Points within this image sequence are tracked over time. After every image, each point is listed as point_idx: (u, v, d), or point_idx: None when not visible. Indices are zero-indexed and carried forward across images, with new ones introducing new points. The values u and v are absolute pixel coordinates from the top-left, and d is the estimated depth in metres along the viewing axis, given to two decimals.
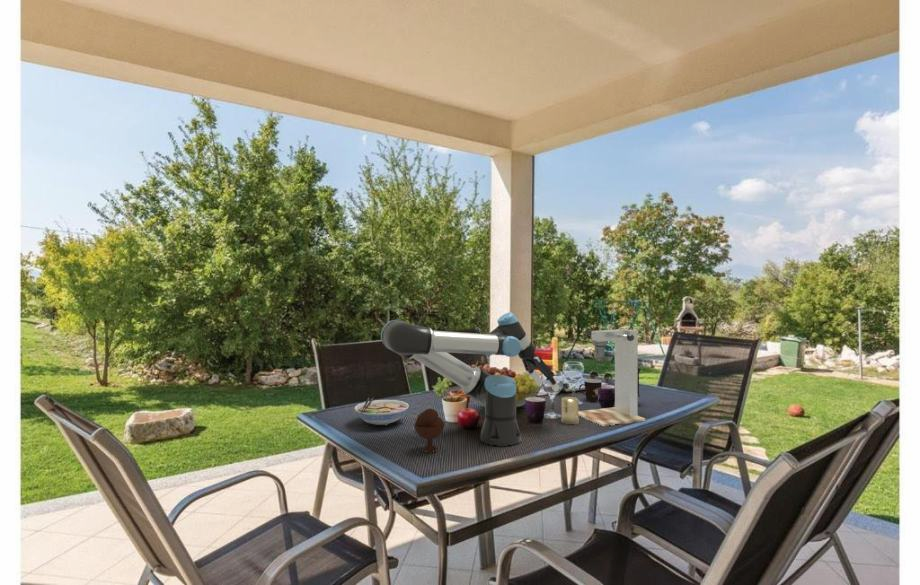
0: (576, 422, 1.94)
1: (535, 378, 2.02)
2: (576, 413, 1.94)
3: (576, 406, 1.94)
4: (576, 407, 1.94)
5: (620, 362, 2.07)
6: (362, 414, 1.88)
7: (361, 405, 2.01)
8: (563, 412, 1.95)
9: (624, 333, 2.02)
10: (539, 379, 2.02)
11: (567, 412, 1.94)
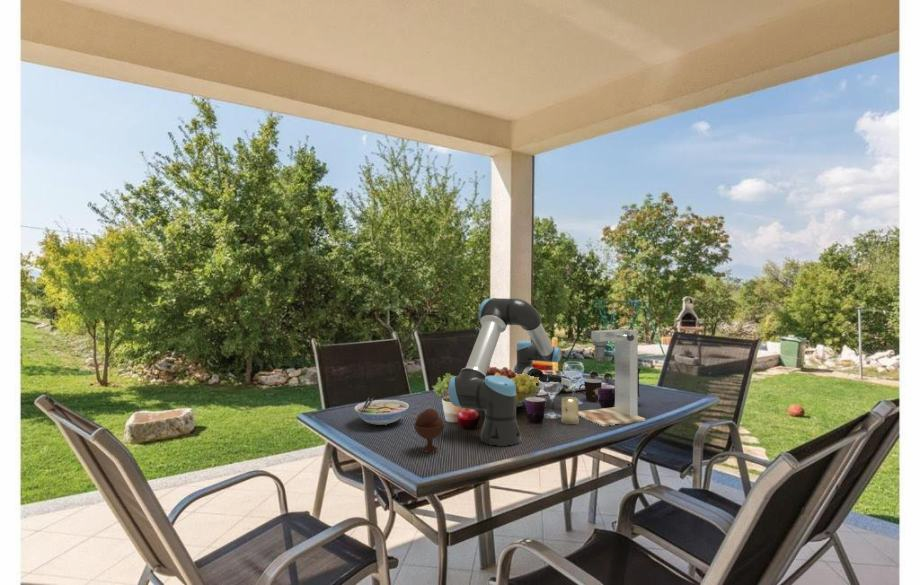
0: (576, 422, 1.94)
1: None
2: (576, 413, 1.94)
3: (576, 406, 1.94)
4: (576, 407, 1.94)
5: (620, 362, 2.07)
6: (362, 414, 1.88)
7: (361, 405, 2.01)
8: (563, 412, 1.95)
9: (624, 333, 2.02)
10: None
11: (567, 412, 1.94)
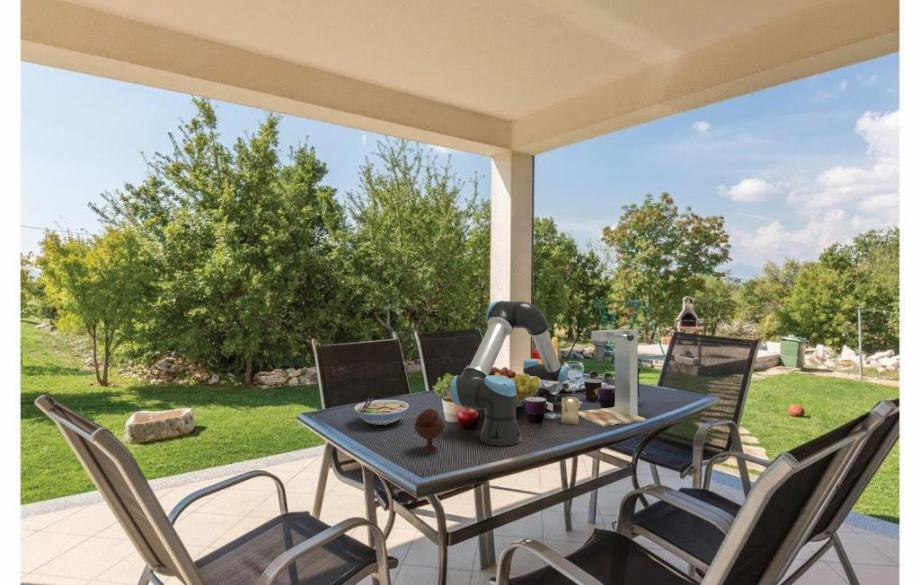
0: (576, 422, 1.94)
1: None
2: (576, 413, 1.94)
3: (576, 406, 1.94)
4: (576, 407, 1.94)
5: (620, 362, 2.07)
6: (362, 414, 1.88)
7: (361, 405, 2.01)
8: (563, 412, 1.95)
9: (624, 333, 2.02)
10: None
11: (567, 412, 1.94)
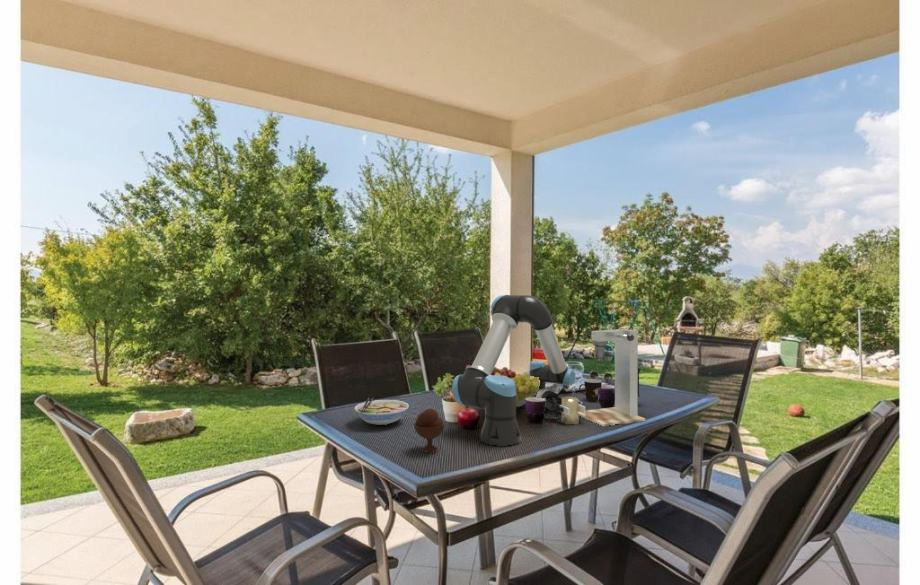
0: (576, 422, 1.94)
1: None
2: (576, 413, 1.94)
3: (576, 406, 1.94)
4: (576, 407, 1.94)
5: (620, 362, 2.07)
6: (362, 414, 1.88)
7: (361, 405, 2.01)
8: None
9: (624, 333, 2.02)
10: None
11: None
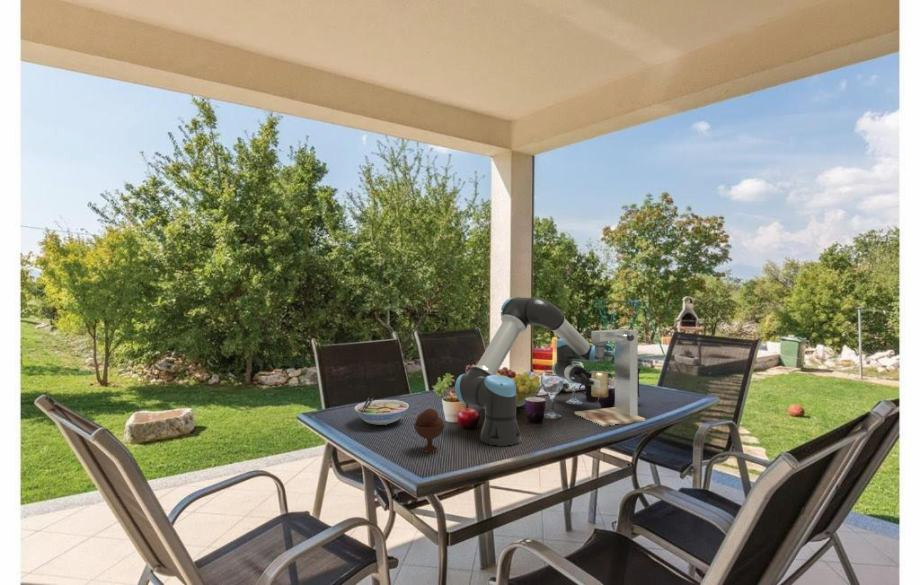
0: (606, 395, 1.99)
1: None
2: (606, 386, 1.99)
3: (606, 379, 1.99)
4: (606, 380, 1.99)
5: (620, 362, 2.07)
6: (362, 414, 1.88)
7: (361, 405, 2.01)
8: None
9: (624, 333, 2.02)
10: None
11: None
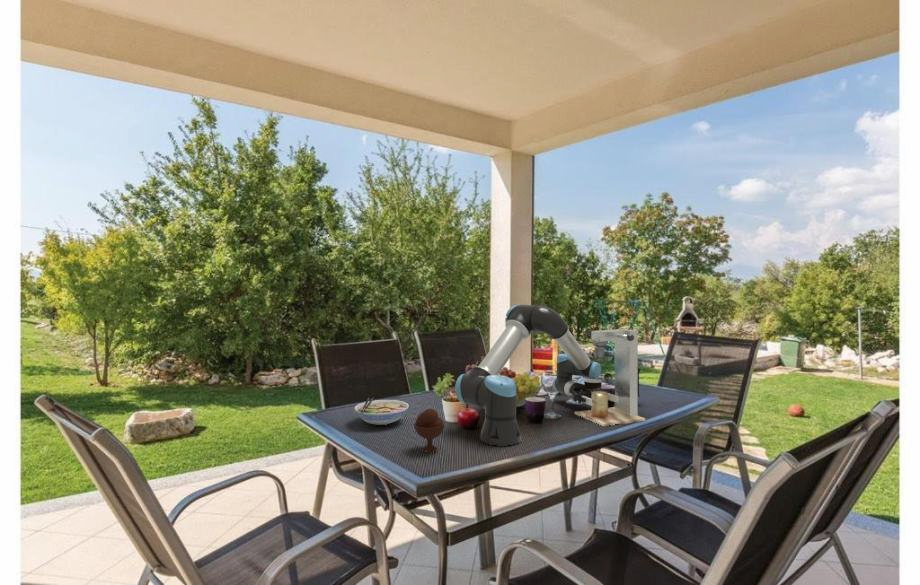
0: (606, 416, 1.99)
1: None
2: (606, 407, 1.99)
3: (606, 400, 1.99)
4: (606, 401, 1.99)
5: (620, 362, 2.07)
6: (362, 414, 1.88)
7: (361, 405, 2.01)
8: (593, 406, 2.01)
9: (624, 333, 2.02)
10: None
11: (597, 406, 1.99)
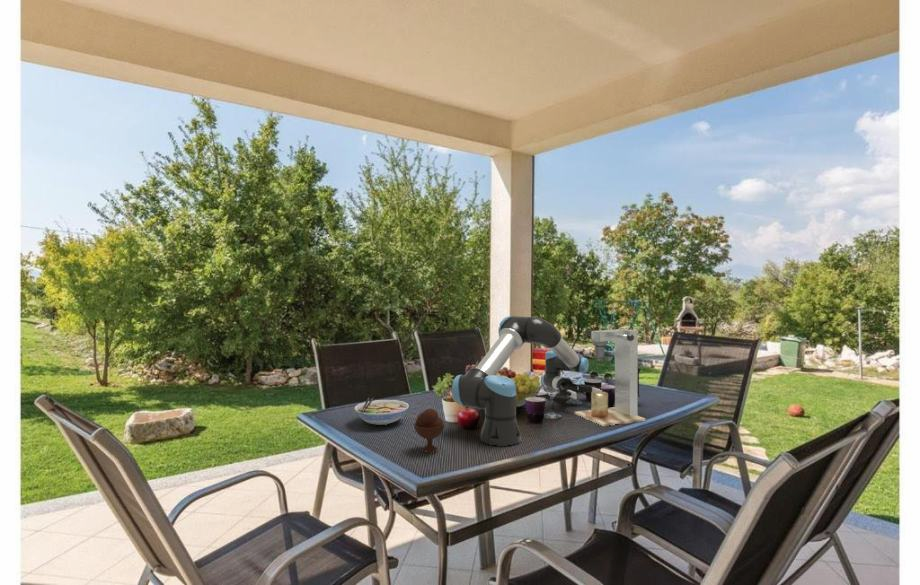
0: (606, 416, 1.99)
1: None
2: (606, 407, 1.99)
3: (606, 400, 1.99)
4: (606, 401, 1.99)
5: (620, 362, 2.07)
6: (362, 414, 1.88)
7: (361, 405, 2.01)
8: (593, 406, 2.01)
9: (624, 333, 2.02)
10: None
11: (597, 406, 1.99)
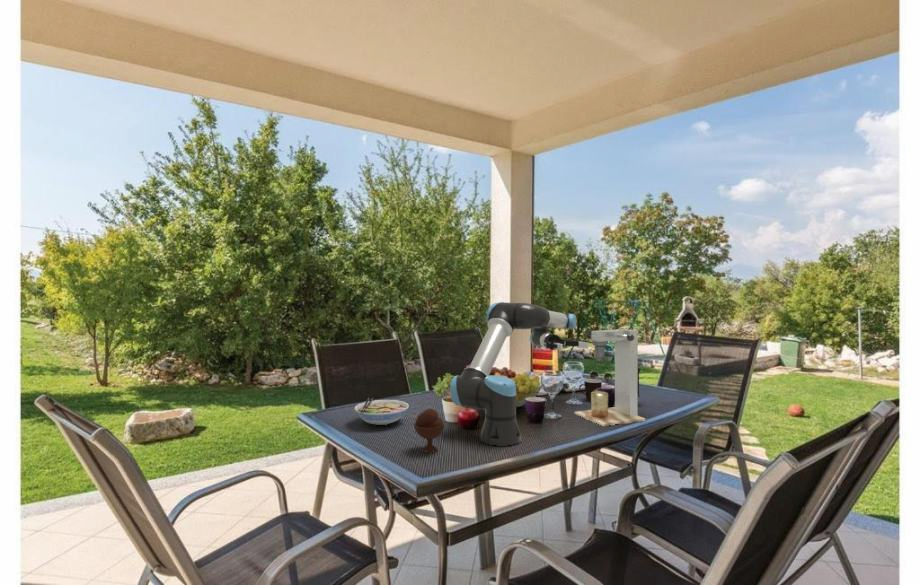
0: (606, 416, 1.99)
1: None
2: (606, 407, 1.99)
3: (606, 400, 1.99)
4: (606, 401, 1.99)
5: (620, 362, 2.07)
6: (362, 414, 1.88)
7: (361, 405, 2.01)
8: (593, 406, 2.01)
9: (624, 333, 2.02)
10: None
11: (597, 406, 1.99)
